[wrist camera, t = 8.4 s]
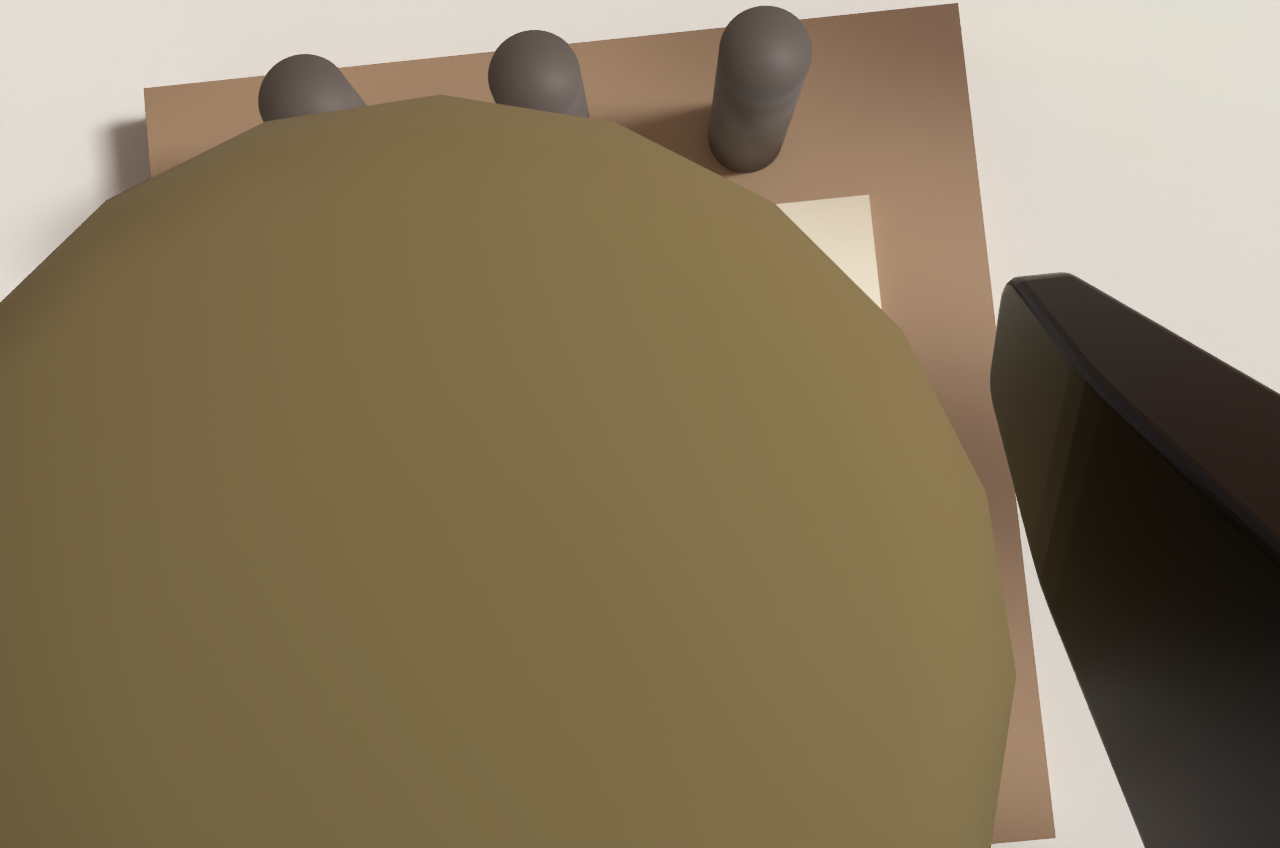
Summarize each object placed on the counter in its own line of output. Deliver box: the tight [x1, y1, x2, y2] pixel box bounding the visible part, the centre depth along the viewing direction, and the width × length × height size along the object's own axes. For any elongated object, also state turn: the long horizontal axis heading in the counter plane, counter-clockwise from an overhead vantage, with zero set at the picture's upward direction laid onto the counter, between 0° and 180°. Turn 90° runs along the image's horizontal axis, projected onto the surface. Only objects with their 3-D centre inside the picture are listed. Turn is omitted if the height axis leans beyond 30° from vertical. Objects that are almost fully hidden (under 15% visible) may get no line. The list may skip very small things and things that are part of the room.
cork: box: [0, 95, 1016, 848], centre depth 9 cm, size 6×6×11 cm
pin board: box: [144, 3, 1056, 844], centre depth 14 cm, size 11×11×4 cm
